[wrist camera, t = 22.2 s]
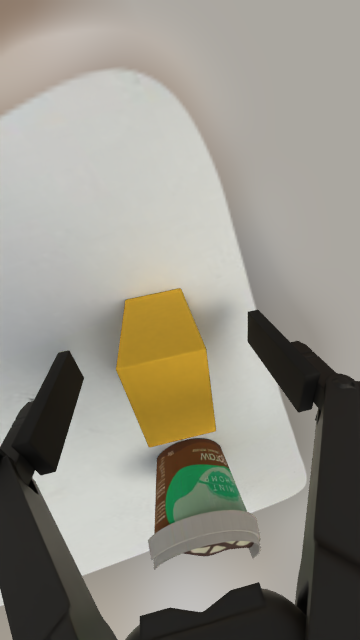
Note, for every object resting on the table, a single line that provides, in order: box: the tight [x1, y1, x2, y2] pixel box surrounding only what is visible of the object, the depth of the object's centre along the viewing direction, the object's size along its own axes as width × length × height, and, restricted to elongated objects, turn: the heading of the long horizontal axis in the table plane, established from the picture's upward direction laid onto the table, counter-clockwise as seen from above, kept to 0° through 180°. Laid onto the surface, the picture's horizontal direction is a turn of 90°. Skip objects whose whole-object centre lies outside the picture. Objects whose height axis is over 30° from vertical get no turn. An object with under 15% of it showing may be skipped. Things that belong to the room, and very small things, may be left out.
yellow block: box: [116, 288, 216, 447], centre depth 16 cm, size 7×4×8 cm, turn 9°
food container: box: [148, 439, 261, 569], centre depth 25 cm, size 12×6×10 cm, turn 68°
